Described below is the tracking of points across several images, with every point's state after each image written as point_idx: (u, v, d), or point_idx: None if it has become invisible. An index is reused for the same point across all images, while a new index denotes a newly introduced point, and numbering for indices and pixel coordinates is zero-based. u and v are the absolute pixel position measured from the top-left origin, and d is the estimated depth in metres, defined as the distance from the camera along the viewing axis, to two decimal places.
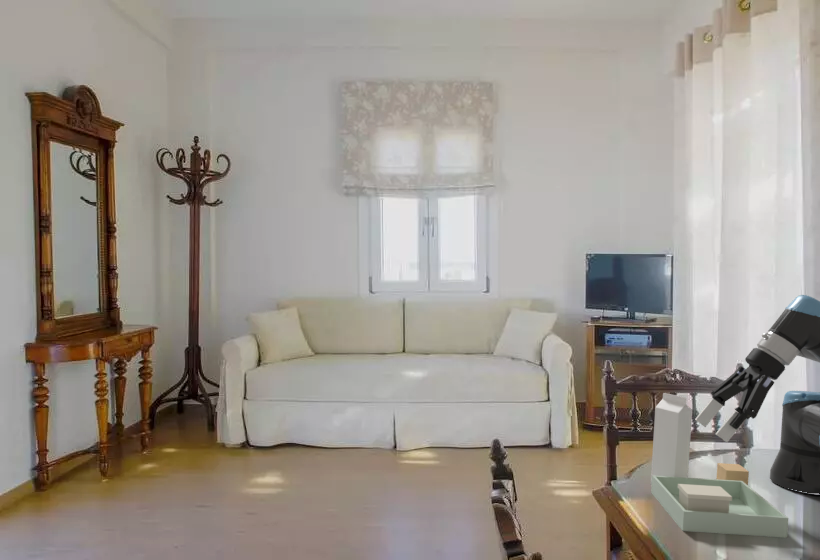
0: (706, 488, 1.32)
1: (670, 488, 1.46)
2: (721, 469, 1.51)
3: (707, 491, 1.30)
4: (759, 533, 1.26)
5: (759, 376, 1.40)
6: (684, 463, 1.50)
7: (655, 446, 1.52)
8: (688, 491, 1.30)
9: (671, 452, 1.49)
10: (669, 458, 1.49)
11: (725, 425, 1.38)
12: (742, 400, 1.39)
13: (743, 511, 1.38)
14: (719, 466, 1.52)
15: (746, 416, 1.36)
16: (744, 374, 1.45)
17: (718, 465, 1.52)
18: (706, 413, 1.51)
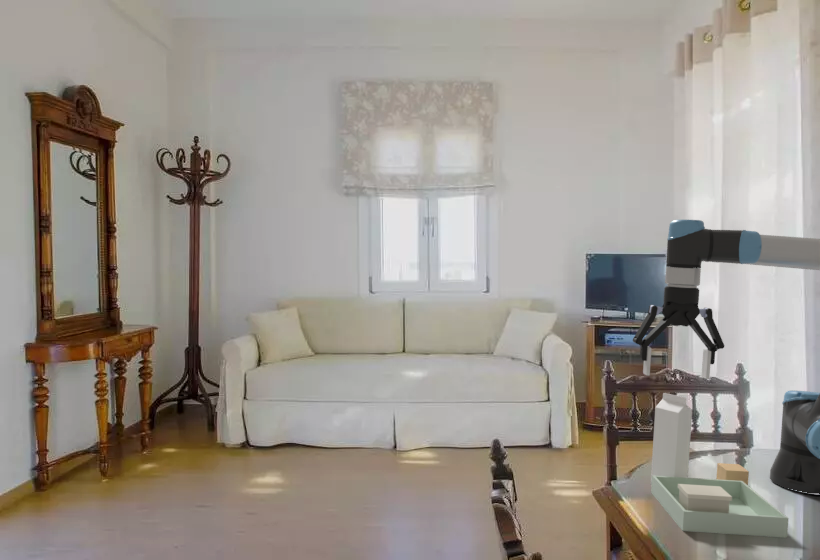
0: (706, 488, 1.32)
1: (670, 488, 1.46)
2: (721, 469, 1.51)
3: (707, 491, 1.30)
4: (759, 533, 1.26)
5: None
6: (684, 463, 1.50)
7: (655, 446, 1.52)
8: (688, 491, 1.30)
9: (671, 452, 1.49)
10: (669, 458, 1.49)
11: (644, 361, 1.52)
12: None
13: (743, 511, 1.38)
14: (719, 466, 1.52)
15: (640, 345, 1.51)
16: None
17: (718, 465, 1.52)
18: (703, 366, 1.51)
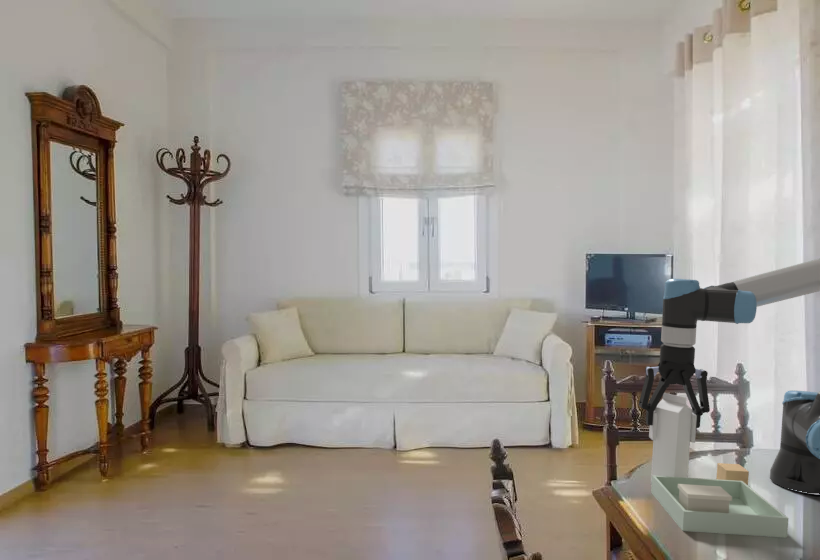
0: (706, 488, 1.32)
1: (670, 488, 1.46)
2: (721, 469, 1.51)
3: (707, 491, 1.30)
4: (759, 533, 1.26)
5: None
6: (684, 463, 1.50)
7: (655, 446, 1.52)
8: (688, 491, 1.30)
9: (671, 452, 1.49)
10: (669, 458, 1.49)
11: (650, 425, 1.53)
12: None
13: (743, 511, 1.38)
14: (719, 466, 1.51)
15: (646, 410, 1.52)
16: None
17: (718, 465, 1.52)
18: None
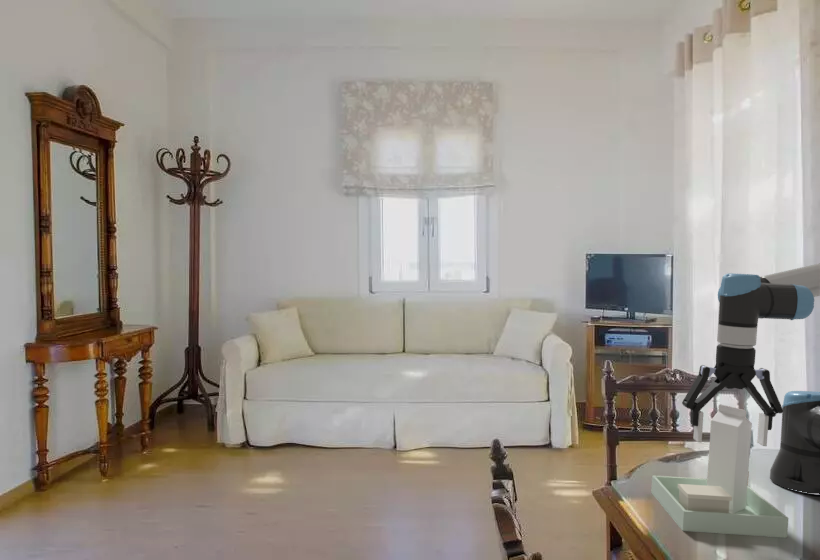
0: (706, 488, 1.32)
1: (670, 488, 1.46)
2: None
3: (707, 491, 1.30)
4: (759, 533, 1.26)
5: None
6: (743, 481, 1.38)
7: (711, 463, 1.39)
8: (688, 491, 1.30)
9: (730, 469, 1.36)
10: (727, 476, 1.37)
11: (694, 426, 1.41)
12: None
13: (743, 511, 1.38)
14: None
15: (690, 409, 1.39)
16: None
17: None
18: (760, 431, 1.39)
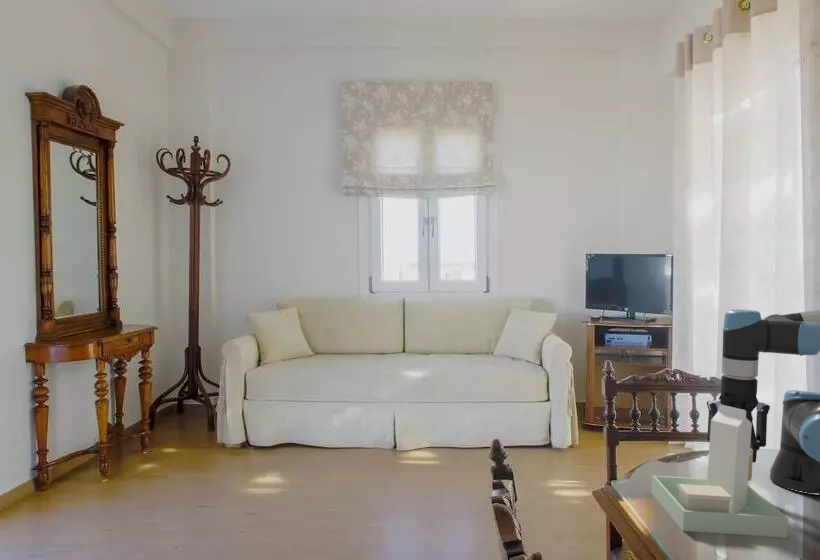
0: (706, 488, 1.32)
1: (670, 488, 1.46)
2: None
3: (707, 491, 1.30)
4: (759, 533, 1.26)
5: None
6: (743, 481, 1.38)
7: (711, 463, 1.39)
8: (688, 491, 1.30)
9: (730, 469, 1.36)
10: (727, 476, 1.37)
11: None
12: None
13: (743, 511, 1.38)
14: None
15: None
16: None
17: None
18: None
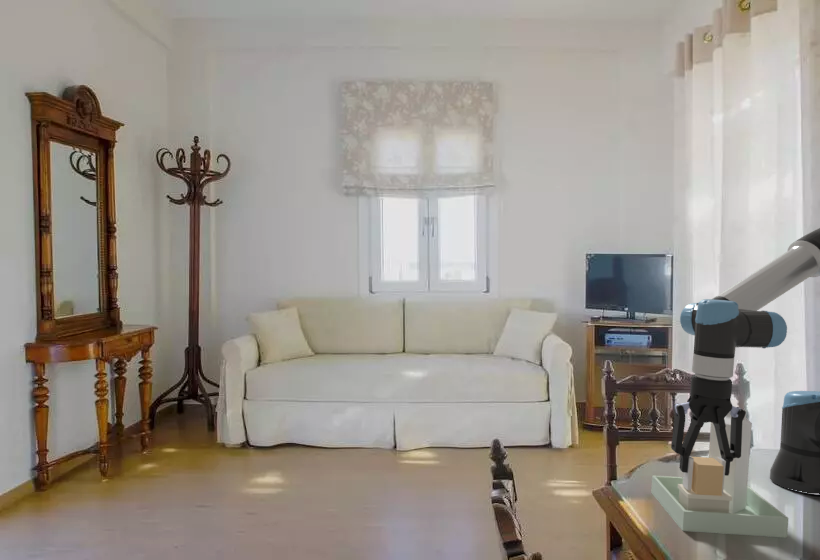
0: None
1: (670, 488, 1.46)
2: None
3: None
4: (759, 533, 1.26)
5: None
6: (743, 481, 1.38)
7: None
8: (688, 491, 1.30)
9: (730, 469, 1.36)
10: (727, 476, 1.37)
11: (684, 472, 1.32)
12: None
13: (743, 511, 1.38)
14: None
15: (680, 454, 1.30)
16: None
17: None
18: None
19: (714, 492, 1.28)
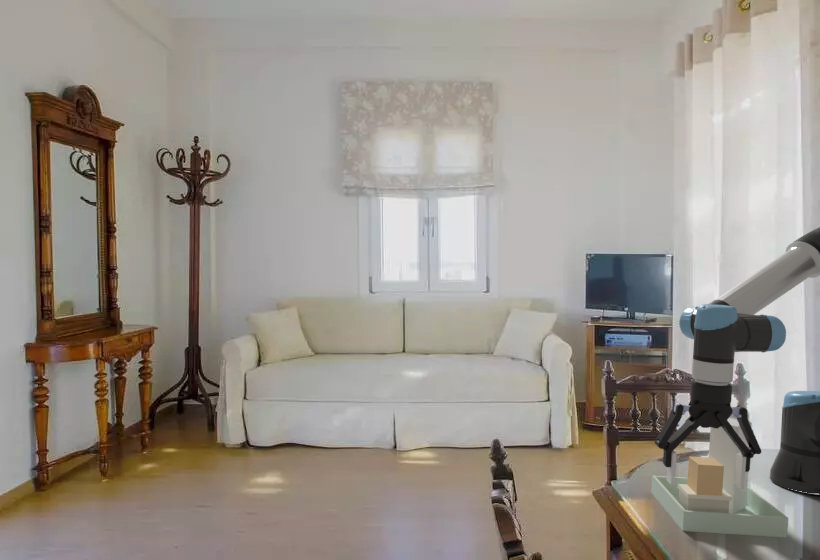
0: None
1: (670, 488, 1.46)
2: (693, 463, 1.31)
3: None
4: (759, 533, 1.26)
5: None
6: None
7: None
8: (688, 491, 1.30)
9: (730, 469, 1.36)
10: (727, 476, 1.37)
11: (667, 467, 1.32)
12: None
13: (743, 511, 1.38)
14: (691, 460, 1.32)
15: (663, 449, 1.30)
16: None
17: (689, 459, 1.32)
18: (737, 472, 1.30)
19: (714, 492, 1.28)
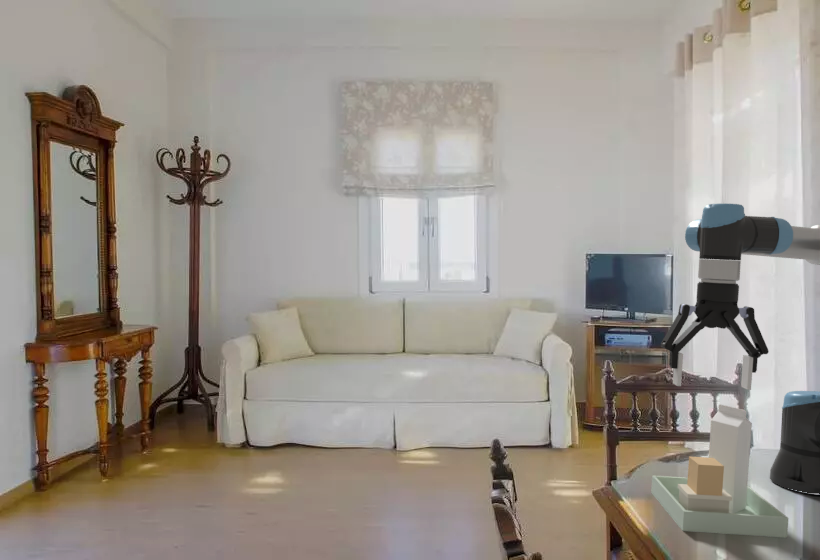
0: None
1: (670, 488, 1.46)
2: (693, 463, 1.31)
3: None
4: (759, 533, 1.26)
5: None
6: (743, 481, 1.38)
7: None
8: (688, 491, 1.30)
9: (730, 469, 1.36)
10: (727, 476, 1.37)
11: (673, 370, 1.31)
12: None
13: (743, 511, 1.38)
14: (691, 460, 1.32)
15: (669, 350, 1.29)
16: None
17: (689, 459, 1.32)
18: (744, 374, 1.29)
19: (714, 492, 1.28)
